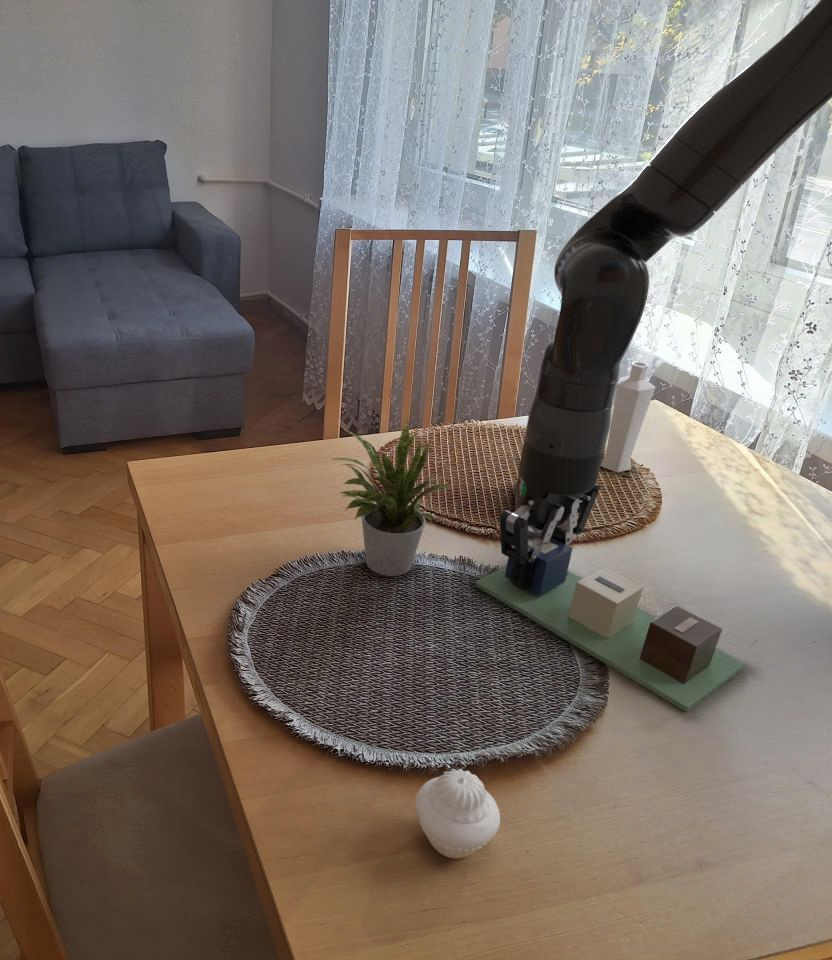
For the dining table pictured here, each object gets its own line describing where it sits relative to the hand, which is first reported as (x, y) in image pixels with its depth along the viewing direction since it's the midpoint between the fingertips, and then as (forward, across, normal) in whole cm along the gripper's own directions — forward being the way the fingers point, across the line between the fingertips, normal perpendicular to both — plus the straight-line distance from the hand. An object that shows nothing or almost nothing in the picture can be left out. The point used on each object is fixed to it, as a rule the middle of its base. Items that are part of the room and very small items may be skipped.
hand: (535, 577), depth 94 cm
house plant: (+2, -9, +14) cm, 17 cm away
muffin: (+2, -33, -17) cm, 37 cm away
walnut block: (+1, 0, -16) cm, 16 cm away
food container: (+2, +15, +10) cm, 18 cm away
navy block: (0, 0, 0) cm, 0 cm away
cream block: (+1, 0, -8) cm, 8 cm away
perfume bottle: (+2, +33, +11) cm, 35 cm away
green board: (+1, 0, -8) cm, 8 cm away
